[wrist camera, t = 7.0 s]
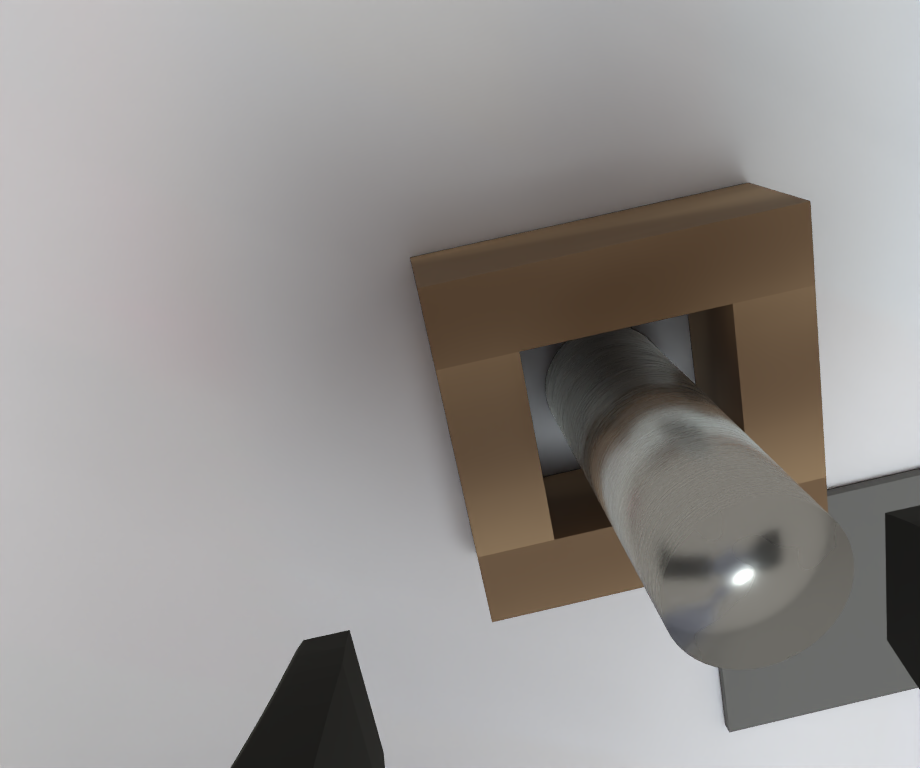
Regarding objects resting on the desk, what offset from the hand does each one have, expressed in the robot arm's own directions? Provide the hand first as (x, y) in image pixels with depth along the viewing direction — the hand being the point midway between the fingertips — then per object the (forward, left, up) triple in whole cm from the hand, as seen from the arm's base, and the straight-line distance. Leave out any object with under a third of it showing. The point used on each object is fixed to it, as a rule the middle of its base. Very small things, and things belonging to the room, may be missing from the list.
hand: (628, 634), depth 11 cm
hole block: (-1, -2, -10) cm, 11 cm away
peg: (-1, -2, -10) cm, 11 cm away
